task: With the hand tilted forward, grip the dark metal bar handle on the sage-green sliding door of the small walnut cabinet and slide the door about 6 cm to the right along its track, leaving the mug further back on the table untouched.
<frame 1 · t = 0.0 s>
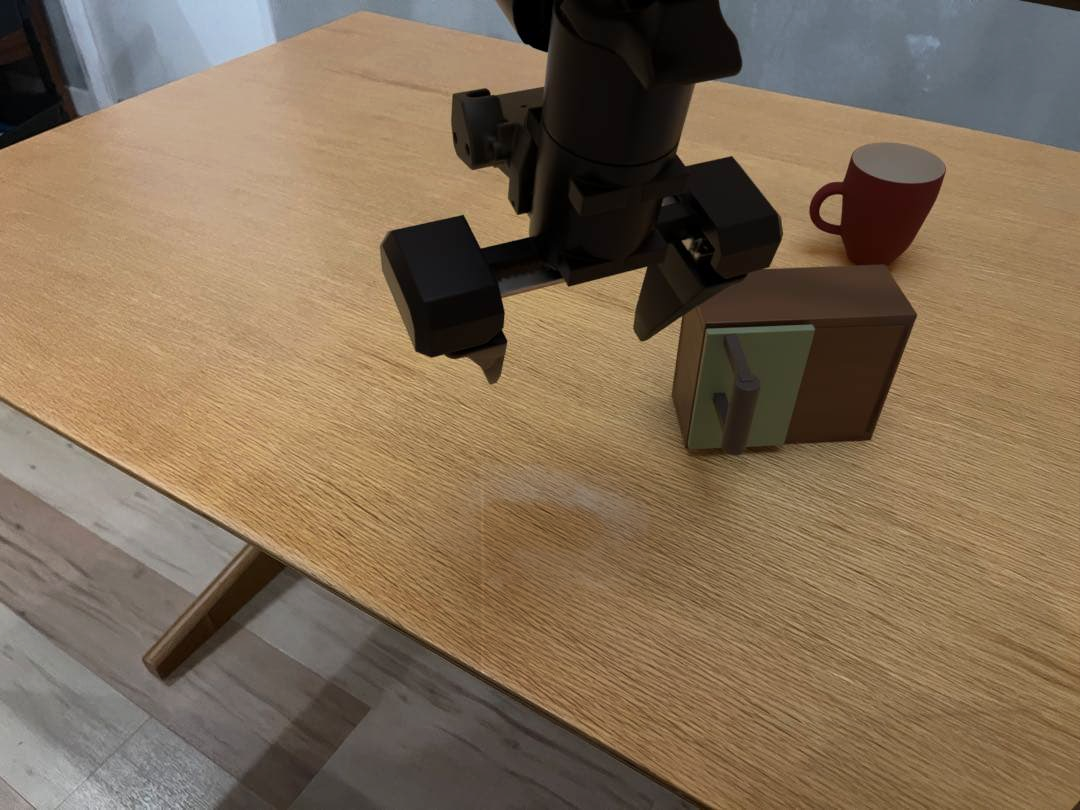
hand: (566, 355, 46), 15 cm above the table, tool pointing down, fingers open, 9 cm apart
door: (756, 417, 54), point 6 cm above the table, slide at 0.0 cm
mug: (855, 260, 80), on the table
cabinet: (768, 416, 63), on the table
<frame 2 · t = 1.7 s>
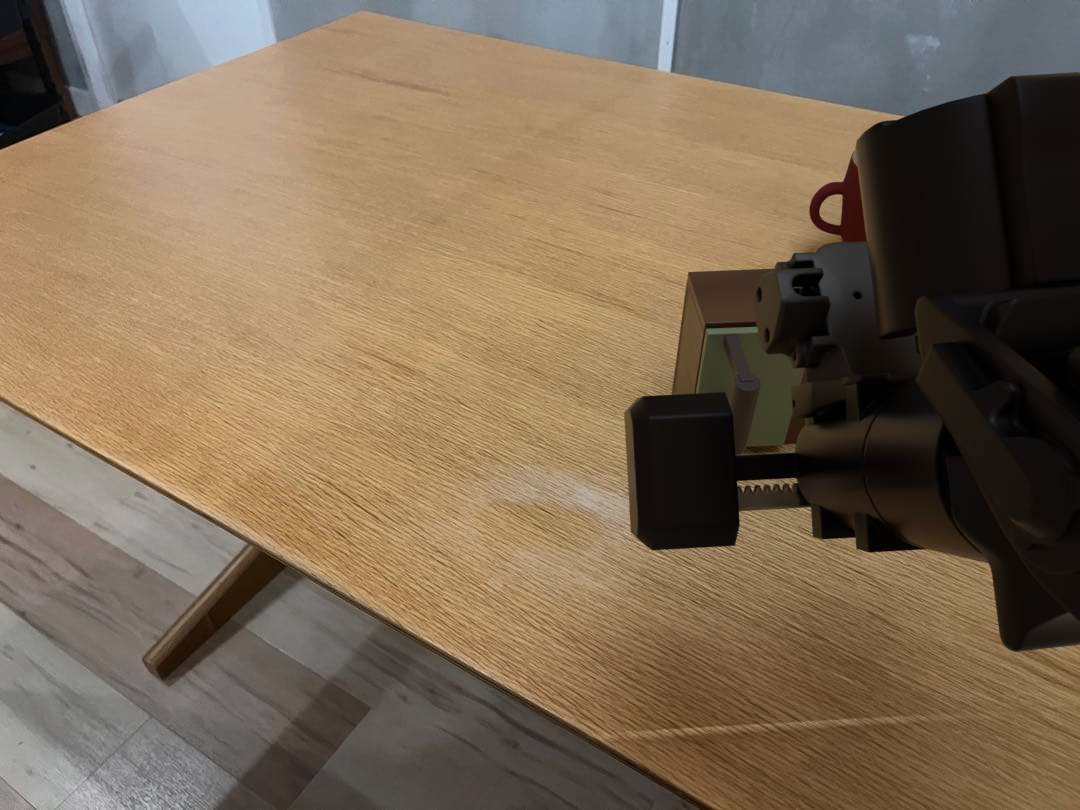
hand: (787, 459, 42), 13 cm above the table, tool tilted 45°, fingers open, 9 cm apart
nothing on the table moved.
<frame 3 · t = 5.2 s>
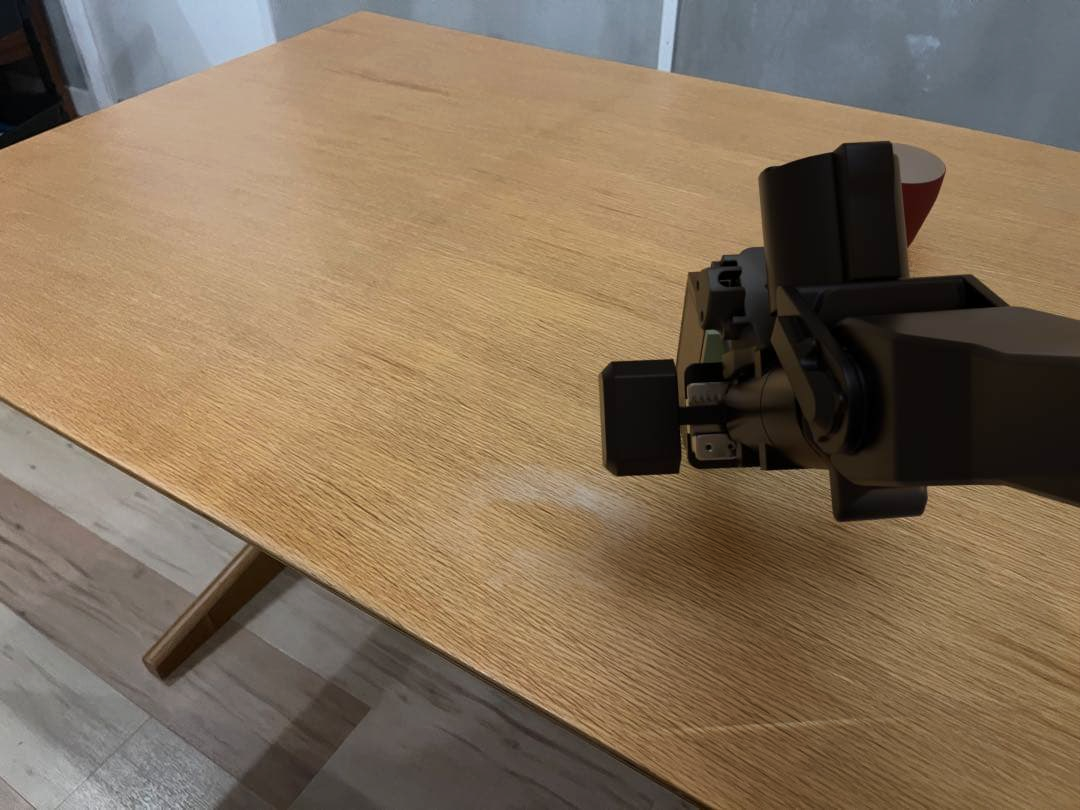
hand: (731, 416, 53), 7 cm above the table, tool tilted 45°, fingers closed on door, 2 cm apart
door: (756, 417, 54), point 6 cm above the table, slide at 0.0 cm, touching gripper
everything else where it was.
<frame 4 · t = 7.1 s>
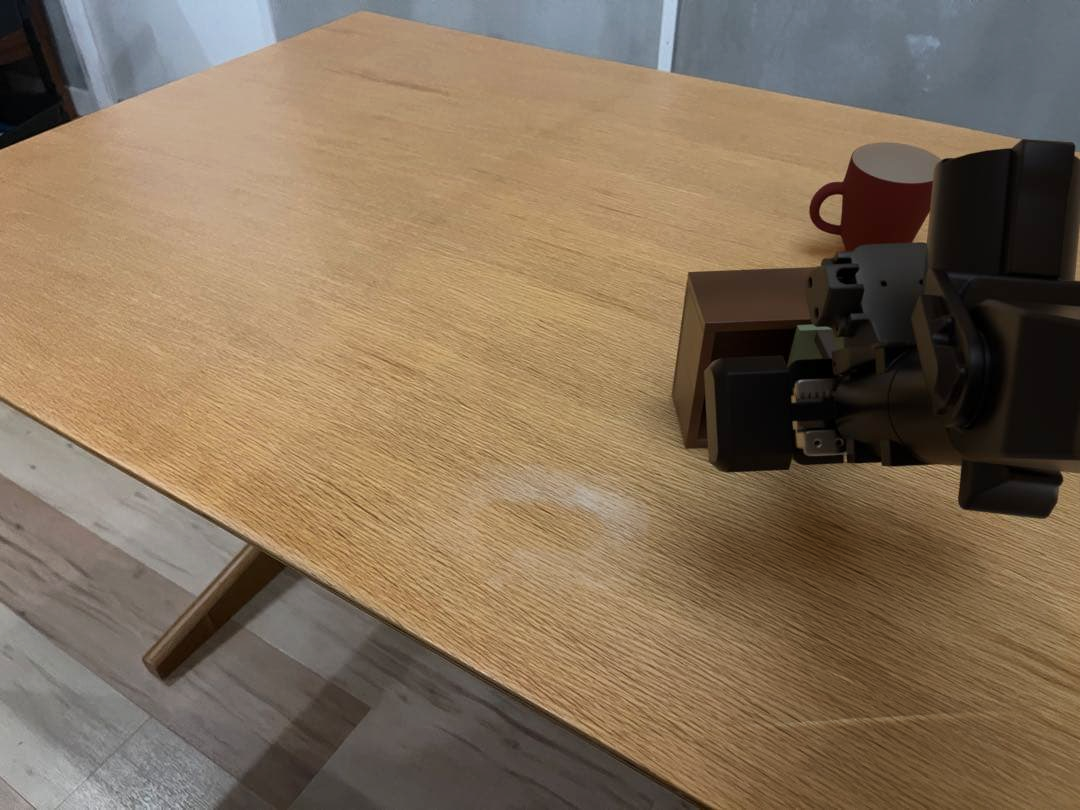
hand: (821, 412, 54), 7 cm above the table, tool tilted 45°, fingers closed on door, 2 cm apart
door: (845, 413, 55), point 6 cm above the table, slide at 6.0 cm, touching gripper
everything else where it was.
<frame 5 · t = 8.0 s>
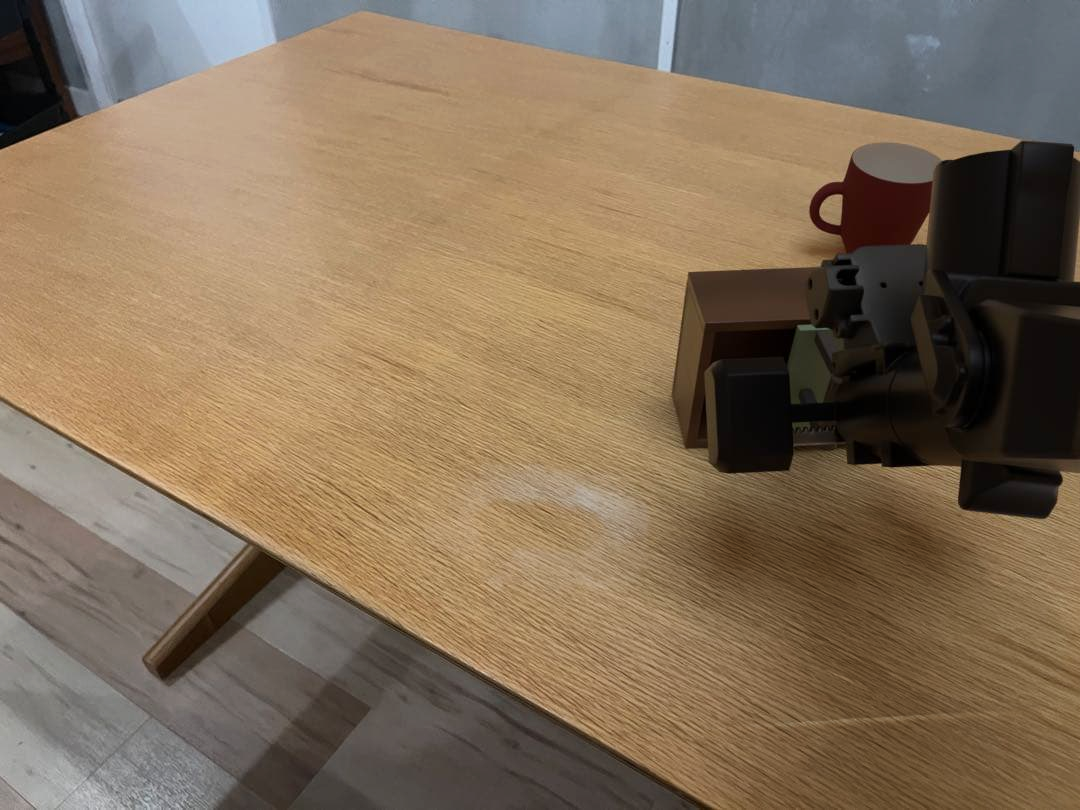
hand: (821, 414, 54), 7 cm above the table, tool tilted 45°, fingers open, 9 cm apart
door: (845, 413, 55), point 6 cm above the table, slide at 6.0 cm
everything else where it was.
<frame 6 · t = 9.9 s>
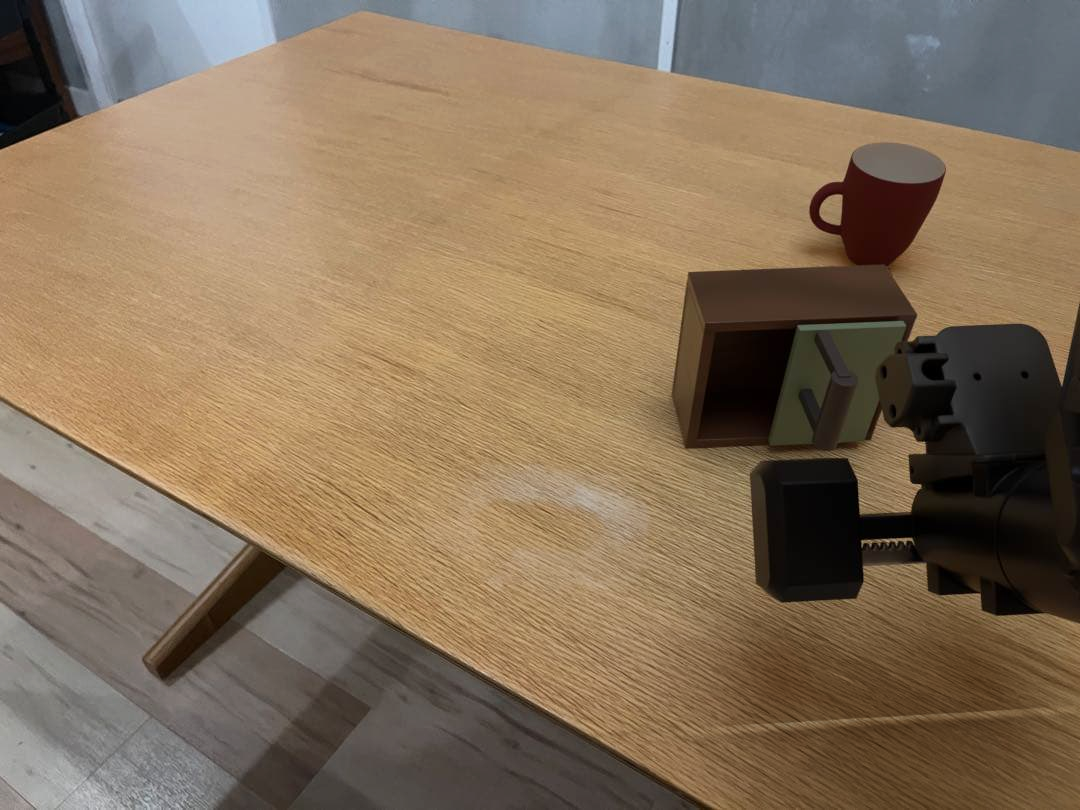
hand: (880, 506, 46), 9 cm above the table, tool tilted 45°, fingers open, 9 cm apart
nothing on the table moved.
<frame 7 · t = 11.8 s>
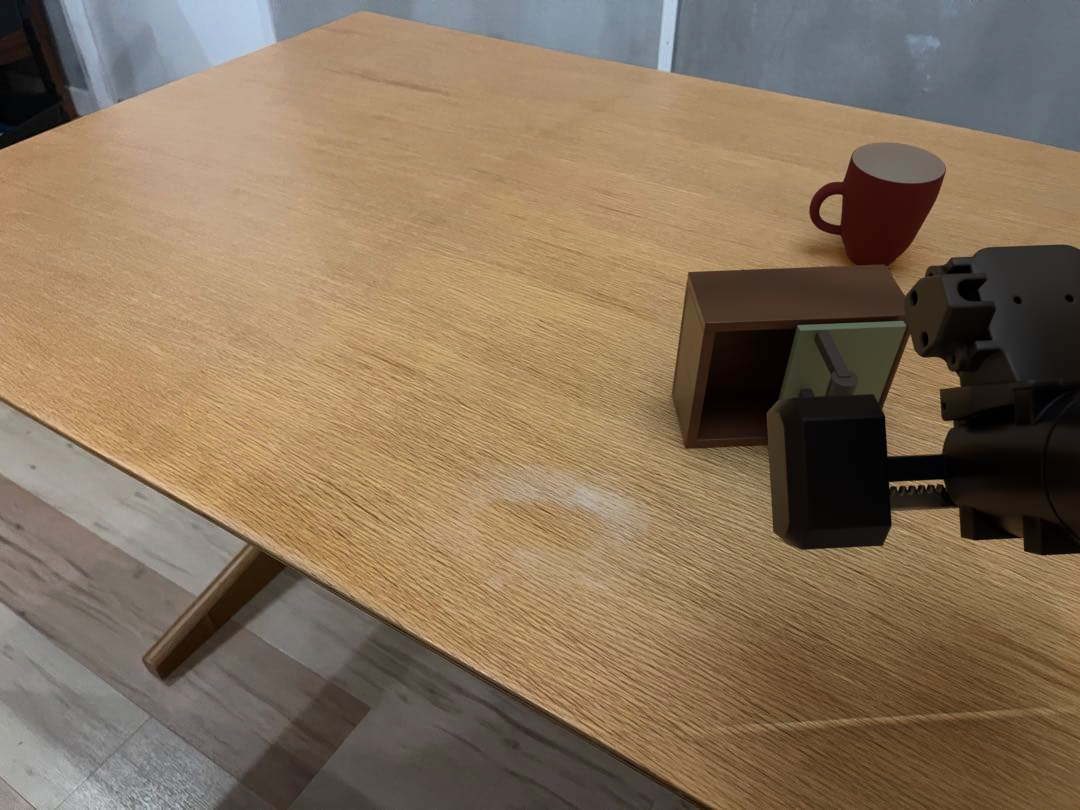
hand: (903, 458, 43), 13 cm above the table, tool tilted 45°, fingers open, 9 cm apart
nothing on the table moved.
at the end: door slide at 6.0 cm; the gripper is holding nothing; mug moved 0.2 cm from its start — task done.
